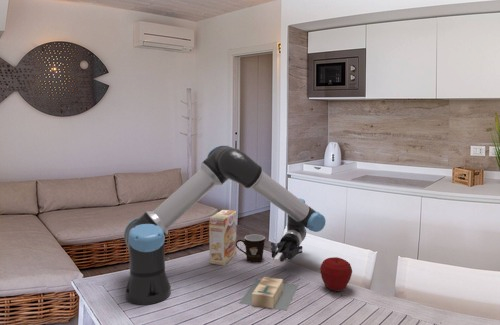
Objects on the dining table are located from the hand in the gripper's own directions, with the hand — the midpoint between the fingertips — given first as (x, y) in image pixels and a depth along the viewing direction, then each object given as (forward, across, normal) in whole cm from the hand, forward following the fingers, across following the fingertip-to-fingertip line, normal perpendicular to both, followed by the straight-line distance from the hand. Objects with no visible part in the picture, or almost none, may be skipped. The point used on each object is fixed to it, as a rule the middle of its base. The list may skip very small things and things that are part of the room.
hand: (275, 262), depth 145 cm
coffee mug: (-23, +17, -10) cm, 30 cm away
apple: (-6, -20, -10) cm, 24 cm away
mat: (+5, 0, -10) cm, 11 cm away
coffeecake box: (-21, +29, -10) cm, 37 cm away
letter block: (+2, 0, -7) cm, 7 cm away
